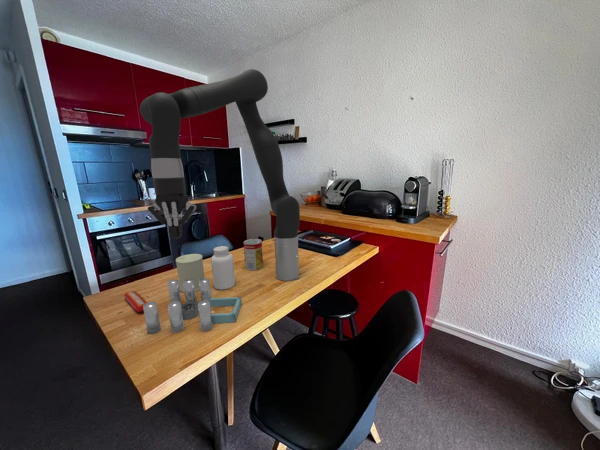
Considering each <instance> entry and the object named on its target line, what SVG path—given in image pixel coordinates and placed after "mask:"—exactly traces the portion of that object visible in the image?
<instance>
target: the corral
mask: <svg viewBox="0 0 600 450" xmlns="http://www.w3.org/2000/svg"><path fill="white" fill-rule="evenodd" d="M209 300H210V305H211V308H213V307H214V308H215V307H217V308H218V307H233V309H232V312H227V313H226V312H224V313H223V312H222V313H211V314H212V323H213V324H230V323H231V324H232V323H236V322H237V318H238V316H239V313H240V310H241V307H242V296H240V297H239V296H236V297H234V296H233V297H231V296H230V297H211V298H210V299H209Z"/></svg>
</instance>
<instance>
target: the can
mask: <svg viewBox="0 0 600 450" xmlns="http://www.w3.org/2000/svg"><path fill="white" fill-rule="evenodd" d="M175 263H176V264H175V265H176V269H177V275H178V276H177V277H178V280H179V287H180V292H183V293H185V290H184V283H183V281H184V280H186V279H194V284H195V292H197V291H200V286H199V280H200V279H203V278H206V277H205V272H204V271H205V270H204V260H203V255H202V254H200V253H189V254H185V255H184V254H183V255H180V256H179V257H177V258H176V259H175Z"/></svg>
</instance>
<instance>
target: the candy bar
mask: <svg viewBox="0 0 600 450" xmlns="http://www.w3.org/2000/svg"><path fill="white" fill-rule="evenodd" d="M124 298H125V300H126V301H127V303H128V304H129V305H130V306H131V308H132V309H133V310H134V311H135V312H137V313H144V309H143V305H144V304H146V303H148V301H146V300H145V299H144V298H143V297H142V295H140V294H139V293H138V292H137V291H135V290H133V291H127V292H125V294H124Z"/></svg>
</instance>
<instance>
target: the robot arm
mask: <svg viewBox="0 0 600 450" xmlns="http://www.w3.org/2000/svg"><path fill="white" fill-rule="evenodd" d="M268 89H269V86H268V81H267V79H266V77H265V75H264V74H263V73H262V72H261V71H259V70H257V69H253V68H250V69H247V70H245V71H243V72H242V73H240V74H238V75H236V76H232V77H230V78H229V77H228V78H226V79H224V80H220V81H215V82H214V81H213V82H211V83H204V84H199V85H195V86H189V87H185V88H182V89H179V90H177V91H175V92H173V93H172V92H171V93H167V92H161V91H160V92H155V93H154V94H152V95H150V96H147V97H145V98H144V99H143V100H142V102H141V103H140V106H139V112H140V115H141V117H142V118H143V120H145V122H147V123H148V124H149V125H151V130H152V132H151V135H150V137H149V138H148V146H149V152H150V153H149V154H150V158H151V159H150V161H151V164H150V166H151V176H152V182H153V191H154V193H155V198H154V203H153V204H151V205H150V206H148V207H147V211H149V212H150V213H151V215H152V216H154V217H155V219H156V220H157V221H158V222H160V224H162V225H167V226H168V229H169V235H170V238H171V239H173V240H179V239H180V238H182V236H183V224H185V223H187V222H189V220H190V218H191V217H192V215H193V214H194V212H195V211H196V210H197V207H198V205H197V204H193V203H191V202H190V201H189V198H188V196H187V195H186V194H187V192H186V191H187V190H186V183H185V182H186V180H185V175H184V174H185V173H184V166H183V163H182V157H181V156H182V155H181V148H180V135H181V120H183V119H186V118H193V117H197V116H201V115H205V114H207V113H211V112H212V111H215V110H219V109H220V108H224V107H225V106H228V105H230V104H232V103H235V104H236V107H237V109H238V111H239V113H240V115H241V118H242V121H243V123H244V126H245V130H246V132H247V134H248V137H249V140H250V143H251V147H252V151H253V152H254V156H255V159H256V162H257V165H258V168H259V171H260V173H261V176H262V178H263V180H264V182H265V187H266V189H267V193H268V199H269V203H270V208H271V211H272V213H273V214H274V215H275V216H276V217H275V218H276V219H275V220H276V223H275V225H276V226H275V229H274V232H273V233H274V235H273V236H274V253H275V254H274V255H275V275H276V278H277V279H278V280H280V281H285V282H291V281H294V280H298V279H300V266H299V265H300V263H299V262H300V261H299V259H300V257H299V233H298V232H299V230H300V221H301V220H300V218H301V217H300V216H301V215H300V213H301V212H300V209H301V208H300V203H299V201H298V200H297V199H296V198H295V197H293V196H291V195H290V194H289V192H288V189H287V185H286V182H285V180H284V163H283V156H282V151H281V149H280V145H279V142H278V139H277V137H276V136H275V134H274V133H273V132H272V131H271V130H270V128H269V127H268V126H267V125H266V124H265V122H264V121H263V120H262V119H263V118H262V117H261V114H260V112H259V108H258V105H257V102H259V101H262V99H263V98H265V96H266V95H267V94H268ZM184 210H186V211H185V213H184V214H183V212H184Z"/></svg>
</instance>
